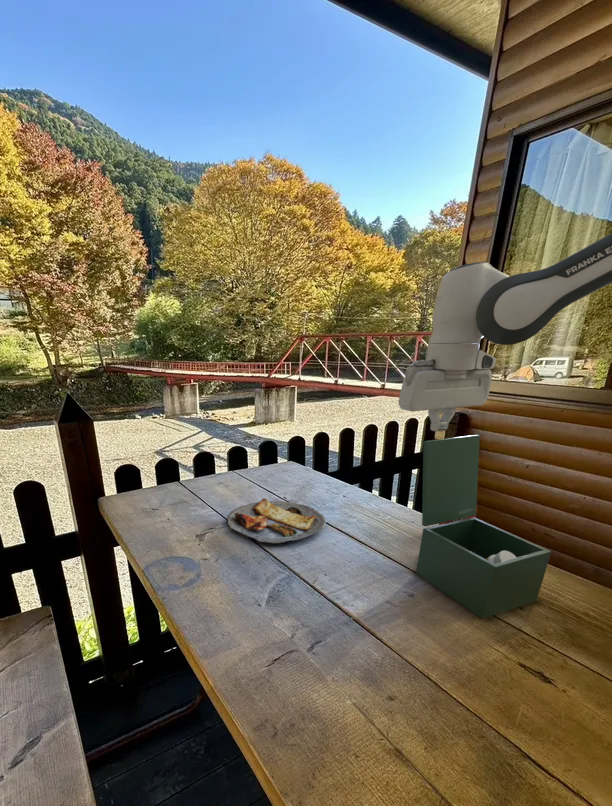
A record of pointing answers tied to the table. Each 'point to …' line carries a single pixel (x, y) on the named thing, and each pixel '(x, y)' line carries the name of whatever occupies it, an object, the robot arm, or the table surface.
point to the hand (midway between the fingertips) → (438, 430)
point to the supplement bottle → (501, 557)
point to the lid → (450, 479)
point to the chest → (481, 565)
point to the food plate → (276, 519)
